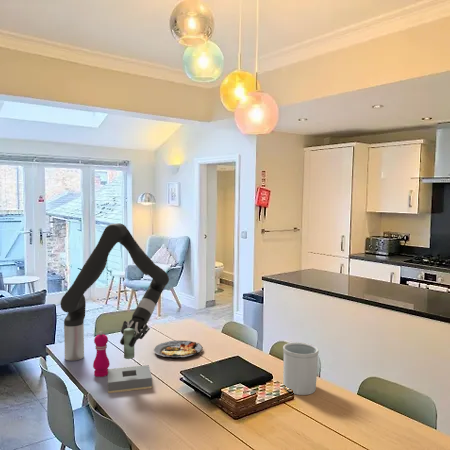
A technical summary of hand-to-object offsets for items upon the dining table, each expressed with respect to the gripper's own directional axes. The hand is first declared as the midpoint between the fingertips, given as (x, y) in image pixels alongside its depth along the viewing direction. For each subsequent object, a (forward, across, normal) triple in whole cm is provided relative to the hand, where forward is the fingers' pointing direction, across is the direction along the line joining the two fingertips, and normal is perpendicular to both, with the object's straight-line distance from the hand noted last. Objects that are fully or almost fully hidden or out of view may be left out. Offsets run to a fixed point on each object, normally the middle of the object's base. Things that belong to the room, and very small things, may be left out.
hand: (126, 345), depth 179 cm
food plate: (-18, -4, +44) cm, 47 cm away
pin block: (+11, 0, +14) cm, 18 cm away
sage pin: (+3, 0, +6) cm, 6 cm away
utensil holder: (-12, +66, +38) cm, 77 cm away
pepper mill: (+11, -18, +15) cm, 25 cm away
